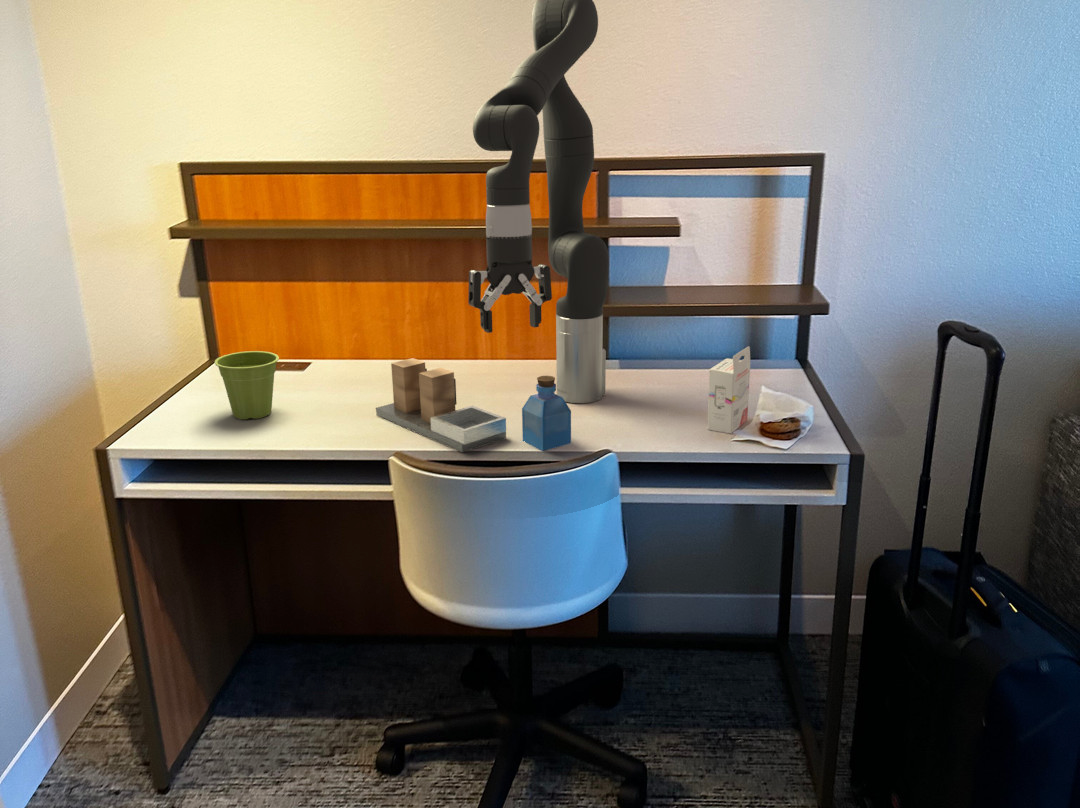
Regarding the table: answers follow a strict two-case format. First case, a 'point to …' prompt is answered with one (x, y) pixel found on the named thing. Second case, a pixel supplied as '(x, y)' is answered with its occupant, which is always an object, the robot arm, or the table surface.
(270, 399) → the plant pot
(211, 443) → the table surface
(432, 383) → the walnut finger front
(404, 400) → the walnut finger rear
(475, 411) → the grey rectangular tray
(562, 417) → the perfume bottle
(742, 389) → the ink cartridge box
